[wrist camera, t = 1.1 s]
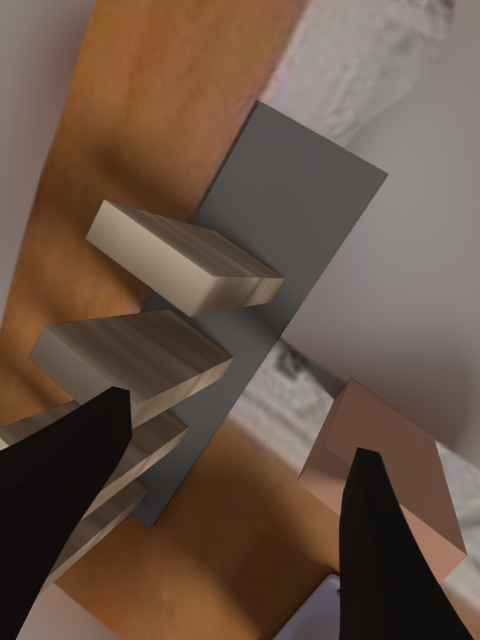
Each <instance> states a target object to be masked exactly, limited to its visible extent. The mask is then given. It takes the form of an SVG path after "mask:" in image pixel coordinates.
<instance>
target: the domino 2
mask: <svg viewBox="0 0 480 640" xmlns="http://www.w3.org/2000/svg"><path fill="white" fill-rule="evenodd" d="M233 358H234V357H233V356H232V355H230V354H229V353H228V352H226V351H225V350H224V349H222V348H221V347H220V346H219V345H217V344H216V343H215V342H213V341H212V340H211V339H209V338H208V337H207V336H205V335H204V334H203V333H201V332H200V331H199V330H197V329H196V328H195V327H193V326H192V325H191V324H189V323H188V322H187V321H185V320H184V319H183V318H181V317H180V316H179V315H177V314H176V313H175V312H174V311H172V310H171V309H168V310H160V311H153V312H145V313H137V314H129V315H121V316H113V317H106V318H98V319H90V320H82V321H74V322H66V323H59V324H51V325H43V327H42V330H41V332H40V334H39V336H38V338H37V340H36V342H35V344H34V346H33V348H32V350H31V352H30V354H29V357H28V359H30V360H31V361H32V362H33V363H34V364H35V365H36V366H37V367H39V368H40V369H41V370H42V371H43V372H44V373H45V374H47V375H48V376H49V377H50V378H51V379H52V380H53V381H54V382H56V383H57V384H58V385H59V386H60V387H61V388H62V389H63V390H65V391H66V392H67V393H68V394H69V395H70V396H71V397H72V398H74V399H75V400H76V401H77V402H78V403H79V404H80V405H83V404H84V403H86V402H88V401H89V400H91V399H92V398H94V397H96V396H97V395H99V394H100V393H102V392H104V391H105V390H107V389H108V388H110V387H112V386H115V387H119V388H123V389H127V390H130V401H131V419H132V429H134V428H135V427H137V426H139V425H141V424H142V423H144V422H146V421H148V420H149V419H151V418H153V417H155V416H156V415H158V414H160V413H161V412H163V411H165V410H167V409H168V408H170V407H172V406H174V405H175V404H177V403H179V402H181V401H182V400H184V399H186V398H187V397H189V396H191V395H193V394H194V393H196V392H198V391H200V390H201V389H203V388H205V387H207V386H208V385H210V384H212V383H214V382H215V381H217V380H219V379H220V378H221V377H222V375H223V374H224V372H225V371H226V369H227V368H228V366H229V365H230V363H231V361H232V360H233Z"/></svg>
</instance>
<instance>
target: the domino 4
mask: <svg viewBox="0 0 480 640" xmlns="http://www.w3.org/2000/svg"><path fill="white" fill-rule="evenodd" d="M147 491H148V489H147V488H146V487H145V486H144V485H143V484H141V483H140V482H139V481H138V480H137V479H136V478H135V479H134V480H132V481H131V482H130V483H129V484H127V485H126V486H125V487H123V488H122V489H121V490H120V491H118V492H117V493H116V494H114V495H113V496H112V497H111V498H109V499H108V500H107V501H105V502H104V503H103V504H102V505H100V506H99V507H98V508H96V509H95V510H94V511H93V512H91V513H90V514H89V515H87V516H86V517H85V518H84V519H82V520H81V521H80V522H79V523H78V525H77V526H76V528H75V529H74V531H73V533H72V534H71V536H70V537H69V539H68V541H67V542H66V544H65V546H64V548H63V550H62V551H61V553H60V555H59V557H58V559H57V560H56V562H55V564H54V566H53V568H52V569H51V571H50V573H49V575H48V577H47V579H46V581H45V583H44V584H43V586H42V588H41V590H40V592H39V594H38V596H39V595H40V593H42V592H43V591H44V590H45V589H46V588H47V587H49V586H50V585H51V584H52V583H53V582H54V581H55V580H56V579H58V578H59V577H60V576H61V575H62V574H63V573H64V572H65V571H66V570H68V569H69V568H70V567H71V566H72V565H73V564H74V563H75V562H77V561H78V560H79V559H80V558H81V557H82V556H83V555H84V554H85V553H87V552H88V551H89V550H90V549H91V548H92V547H93V546H94V545H95V544H97V543H98V542H99V541H100V540H101V539H102V538H103V537H104V536H106V535H107V534H108V533H109V532H110V531H111V530H112V529H113V528H114V527H116V526H117V525H118V524H119V523H120V522H121V521H122V520H123V519H125V518H126V517H127V516H128V515H129V514H130V513H131V512H132V511H133V510H135V509H136V508H137V507H138V505H139V504H140V502H141V501H142V499H143V498H144V496H145V495H146V493H147Z"/></svg>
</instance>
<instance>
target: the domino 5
mask: <svg viewBox="0 0 480 640" xmlns="http://www.w3.org/2000/svg"><path fill="white" fill-rule="evenodd" d="M357 447H360V448H364V449H368V450H372V451H376V452H379V453H380V454H381V456H382V459H383V462H384V465H385V468H386V471H387V474H388V477H389V479H390V482H391V485H392V487H393V490H394V492H395V495H396V497H397V500H398V502H399V505H400V507H401V509H402V511H403V514H404V516H405V518H406V521H407V523H408V525H409V527H410V529H411V531H412V534H413V536H414V538H415V540H416V542H417V544H418V546H419V548H420V550H421V552H422V554H423V556H424V558H425V560H426V561H427V563H428V565H429V567H430V569H431V571H432V572H433V574H434V576H435V578H436V580H437V581H438V583H439V584H440V583H441V582H442V581H443V580H444V579H445V578H446V577H447V576H448V575H449V574H450V573H451V572H452V571H453V570H454V569H455V568H456V567H457V566H458V565H459V564H460V563H461V562H462V561H463V560H464V559H465V558H466V557H467V553H466V549H465V546H464V542H463V539H462V535H461V532H460V528H459V525H458V521H457V517H456V514H455V510H454V507H453V503H452V500H451V496H450V493H449V489H448V486H447V482H446V479H445V475H444V472H443V468H442V464H441V461H440V457H439V454H438V450H437V447H436V443H435V440H434V436H433V435H431V434H430V433H429V432H427V431H426V430H424V429H423V428H421V427H420V426H419V425H417V424H416V423H414V422H413V421H412V420H410V419H409V418H408V417H406V416H405V415H403V414H402V413H400V412H399V411H398V410H396V409H395V408H393V407H392V406H391V405H389V404H388V403H386V402H385V401H384V400H382V399H381V398H379V397H378V396H376V395H375V394H374V393H372V392H371V391H370V390H368V389H367V388H365V387H364V386H363V385H361V384H360V383H358V382H357V381H355V380H354V379H353V378H351V379H350V380H349V381H348V383H347V384H346V385H345V387H344V388H343V389H342V391H341V392H340V393H339V395H338V396H337V397H336V399H335V400H334V402H333V404H332V406H331V409H330V411H329V413H328V415H327V417H326V419H325V422H324V424H323V426H322V428H321V430H320V432H319V434H318V437H317V439H316V441H315V443H314V445H313V447H312V450H311V452H310V454H309V456H308V458H307V460H306V462H305V465H304V467H303V469H302V471H301V473H300V475H299V478H298V480H297V482H298V483H299V484H300V485H302V486H303V487H304V488H305V489H307V490H308V491H309V492H310V493H312V494H313V495H314V496H315V497H317V498H318V499H319V500H320V501H321V502H323V503H324V504H325V505H326V506H328V507H329V508H330V509H331V510H333V511H334V512H335V513H336V514H338V515H339V516H340V513H341V503H342V494H343V490H344V487H345V484H346V481H347V478H348V475H349V472H350V468H351V465H352V462H353V459H354V456H355V453H356V450H357Z"/></svg>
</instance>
